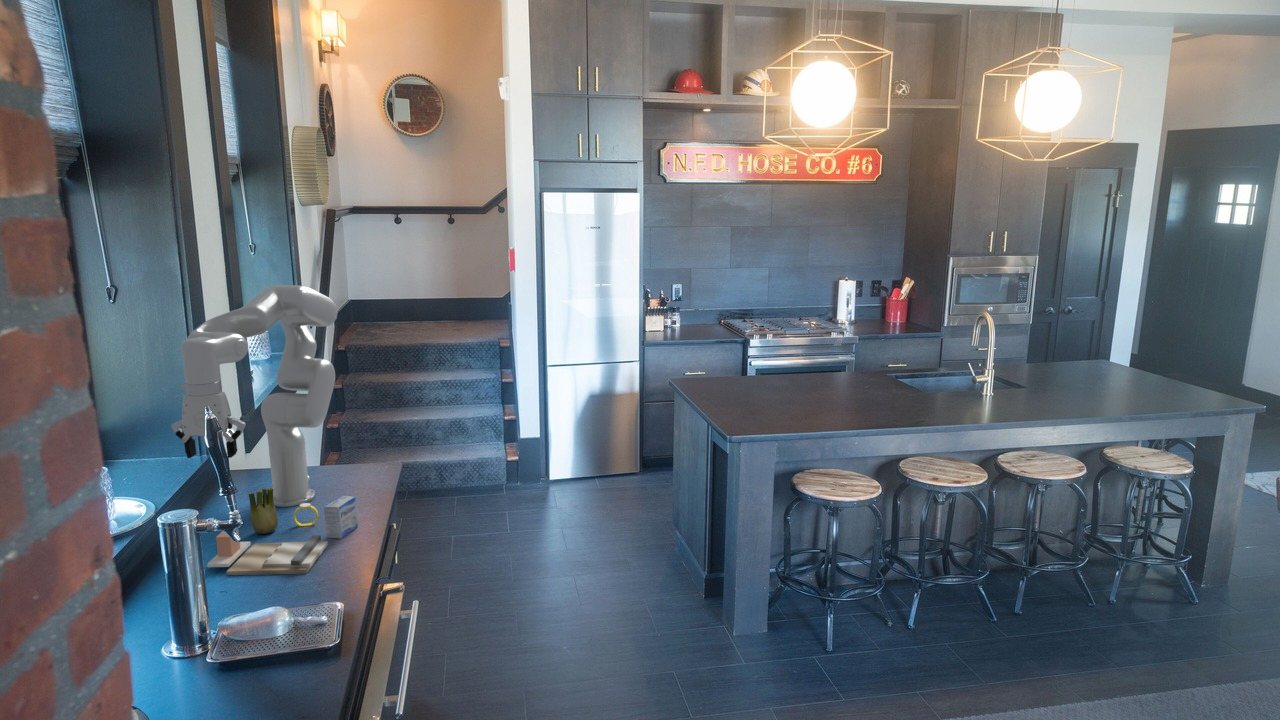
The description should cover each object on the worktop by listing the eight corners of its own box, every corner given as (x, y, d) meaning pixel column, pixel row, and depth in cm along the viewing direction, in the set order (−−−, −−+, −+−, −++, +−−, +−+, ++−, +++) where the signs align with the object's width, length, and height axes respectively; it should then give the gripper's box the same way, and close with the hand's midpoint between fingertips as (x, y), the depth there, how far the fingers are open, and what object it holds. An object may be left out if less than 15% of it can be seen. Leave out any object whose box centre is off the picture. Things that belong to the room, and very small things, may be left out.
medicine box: (341, 539, 201) (339, 507, 199) (325, 538, 202) (323, 506, 200) (358, 527, 209) (356, 496, 207) (343, 525, 209) (340, 495, 208)
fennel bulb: (251, 537, 202) (246, 493, 200) (256, 529, 207) (252, 486, 205) (275, 535, 203) (271, 491, 201) (280, 527, 208) (275, 484, 206)
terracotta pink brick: (231, 544, 194) (228, 523, 193) (250, 544, 195) (248, 522, 194) (207, 567, 183) (204, 544, 182) (228, 566, 183) (225, 543, 182)
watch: (318, 523, 212) (318, 502, 211) (317, 527, 209) (317, 506, 208) (294, 524, 210) (294, 503, 209) (293, 528, 207) (293, 507, 206)
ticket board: (255, 546, 196) (253, 535, 196) (330, 545, 197) (329, 534, 197) (227, 575, 182) (225, 563, 181) (308, 573, 183) (307, 561, 182)
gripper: (159, 392, 186) (167, 461, 189) (233, 392, 187) (241, 460, 190) (175, 385, 193) (183, 451, 196) (247, 384, 194) (254, 451, 197)
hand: (212, 456), depth 193 cm, fingers open, 9 cm apart
